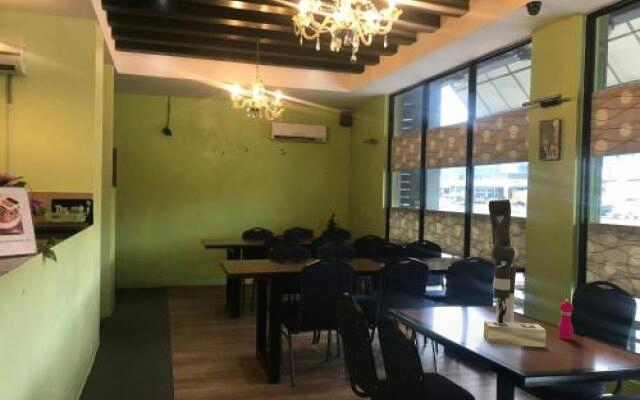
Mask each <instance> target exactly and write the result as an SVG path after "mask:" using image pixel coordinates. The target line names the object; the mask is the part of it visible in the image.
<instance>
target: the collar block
mask: <svg viewBox="0 0 640 400" xmlns="http://www.w3.org/2000/svg"><path fill="white" fill-rule="evenodd" d="M496 323H498V321H496V320H495V321H494V320H483V338H484V339H485V340H486V342H487V344H498V345H500V344H501V345H508V346H524V347H539V348H546V333H547V329H545V328H544V327H542V326H541V325H539V323H525V322H513V323H512V322H503V324H505V325H496ZM524 325H531V326H532V327H524Z"/></svg>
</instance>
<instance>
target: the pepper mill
mask: <svg viewBox="0 0 640 400" xmlns="http://www.w3.org/2000/svg"><path fill="white" fill-rule="evenodd" d="M559 308H560V310H561V311H560V315H561V319H560V321H559V323H558V326H557V331H558V332H559V333H558V338H559V339H561V340H569V341H570V340H573V335H572V334H573V333H574V326H573V324H572V322H571V321H572V319H571V316H572V315H573V314H572V313H573V312H572V311H573V310H574V306H573V304H572V303H571V302H570V301H569V299H568V298H565V299H564V301H562V302H561V303H560V305H559Z"/></svg>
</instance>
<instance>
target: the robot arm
mask: <svg viewBox="0 0 640 400" xmlns="http://www.w3.org/2000/svg"><path fill="white" fill-rule="evenodd" d="M488 211H489V213H488V214H489V219H490V224H491V236H492V238H491V239H492V245H493V247H492V248H493V249H492V251H491V258H492V259H493V260H494V279H493V281H494V282H493V297H494V298H496V300H495V307H496V311H495V312H496V315H495V321H498V323H503V322H512V323H514V315H515V314H514V313H515V312H514V311H515V310H514V309H515V290H516V289H515V287H516V286H515V285H516V278H517V277H516V276H517V268H516V265H515V264H513V261H514V260H515V256H516V251H515V249H514V248H512V247H511V245H512V244H511V243H512V242H511V234H510V232H511V231H510V230H511V229H510V227H511V218H512V205H511V201H510V199H509V198H508V199H507V198H499V199H490V200H489V202H488ZM498 217H503V218H502V220H501V221H499V219H498ZM503 262H506V263H503Z"/></svg>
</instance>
